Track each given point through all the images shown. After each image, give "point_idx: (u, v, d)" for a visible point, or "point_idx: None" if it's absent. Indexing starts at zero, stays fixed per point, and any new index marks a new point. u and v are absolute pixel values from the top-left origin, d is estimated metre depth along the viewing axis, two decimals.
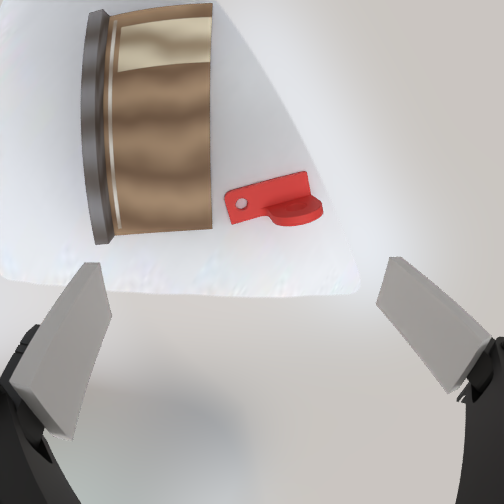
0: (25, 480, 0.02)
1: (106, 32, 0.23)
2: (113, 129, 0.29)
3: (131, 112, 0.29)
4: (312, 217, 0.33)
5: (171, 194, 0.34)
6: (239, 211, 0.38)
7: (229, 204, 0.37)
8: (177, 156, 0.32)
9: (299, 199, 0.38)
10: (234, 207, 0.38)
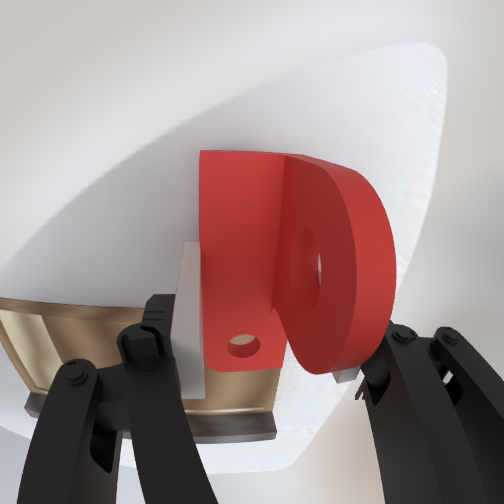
0: (183, 449, 0.04)
1: (45, 398, 0.23)
2: None
3: None
4: (379, 297, 0.06)
5: None
6: (258, 352, 0.15)
7: (234, 366, 0.15)
8: None
9: (286, 207, 0.11)
10: (245, 360, 0.15)
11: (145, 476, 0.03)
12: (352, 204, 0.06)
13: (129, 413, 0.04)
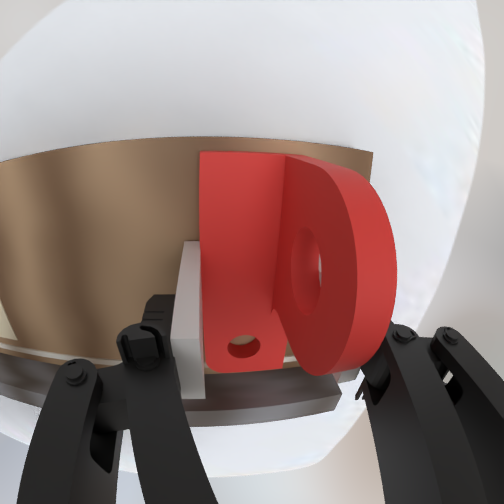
0: (182, 449, 0.04)
1: None
2: (109, 357, 0.15)
3: (73, 325, 0.14)
4: (380, 298, 0.06)
5: None
6: (258, 353, 0.15)
7: (234, 367, 0.15)
8: (162, 229, 0.12)
9: (286, 208, 0.11)
10: (245, 360, 0.15)
11: (145, 476, 0.03)
12: (353, 205, 0.06)
13: (129, 413, 0.04)
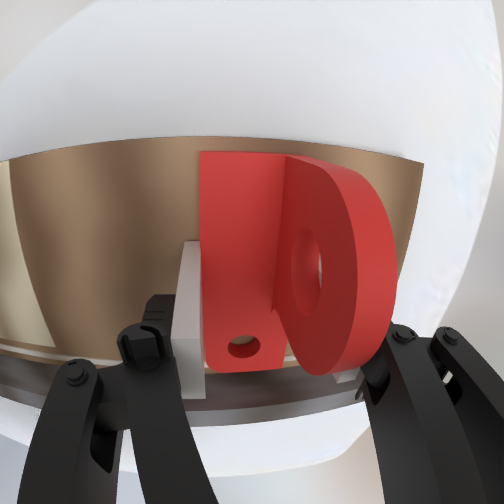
0: (183, 449, 0.04)
1: (4, 358, 0.13)
2: None
3: None
4: (380, 298, 0.06)
5: None
6: (259, 353, 0.15)
7: (234, 367, 0.15)
8: None
9: (286, 208, 0.11)
10: (245, 360, 0.15)
11: (145, 476, 0.03)
12: (353, 205, 0.06)
13: (129, 413, 0.04)
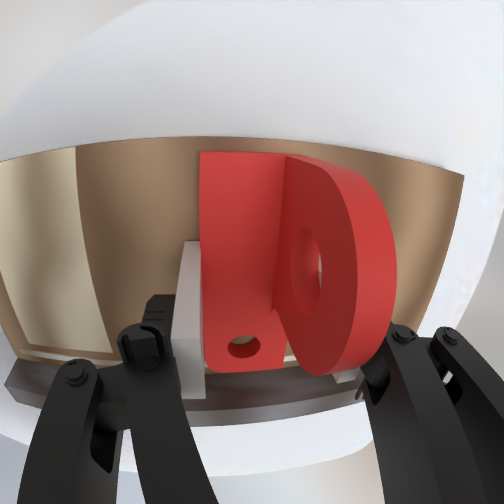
0: (183, 449, 0.04)
1: (42, 366, 0.14)
2: None
3: None
4: (380, 298, 0.06)
5: (399, 246, 0.15)
6: (258, 353, 0.15)
7: (234, 367, 0.15)
8: None
9: (286, 208, 0.11)
10: (245, 360, 0.15)
11: (145, 476, 0.03)
12: (353, 205, 0.06)
13: (129, 413, 0.04)
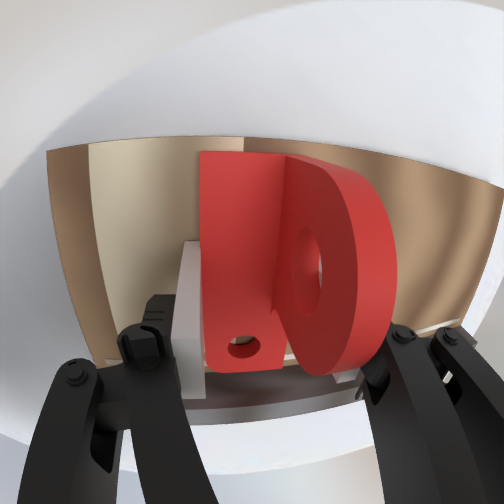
0: (183, 449, 0.04)
1: None
2: None
3: None
4: (380, 299, 0.06)
5: (465, 244, 0.16)
6: (259, 353, 0.15)
7: (234, 367, 0.15)
8: (431, 230, 0.15)
9: (287, 208, 0.11)
10: (245, 360, 0.15)
11: (145, 476, 0.03)
12: (353, 206, 0.06)
13: (129, 413, 0.04)
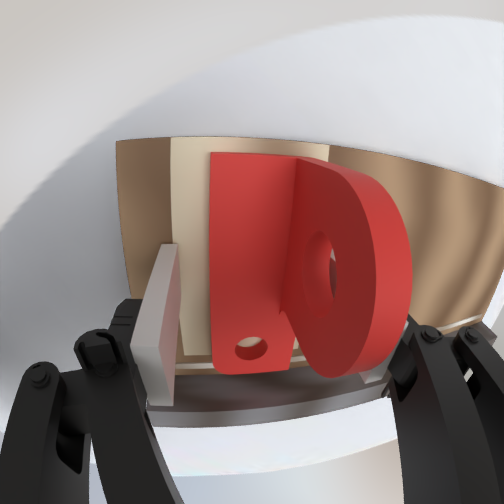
0: (141, 455, 0.04)
1: (194, 379, 0.16)
2: None
3: None
4: (396, 302, 0.06)
5: (490, 246, 0.17)
6: (265, 355, 0.15)
7: (241, 369, 0.15)
8: (466, 233, 0.15)
9: (297, 210, 0.11)
10: (252, 362, 0.15)
11: (107, 482, 0.03)
12: (371, 211, 0.06)
13: (90, 420, 0.04)
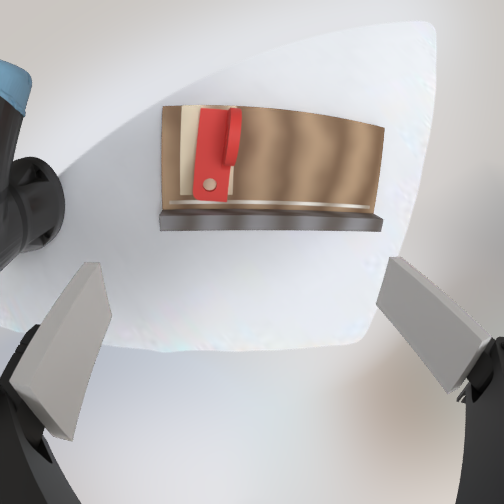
0: (25, 480, 0.02)
1: (183, 210, 0.36)
2: (289, 199, 0.38)
3: (277, 181, 0.37)
4: (236, 127, 0.26)
5: (354, 155, 0.37)
6: (216, 190, 0.35)
7: (204, 197, 0.35)
8: (324, 143, 0.35)
9: (226, 125, 0.31)
10: (209, 193, 0.35)
11: None
12: (232, 111, 0.26)
13: None
